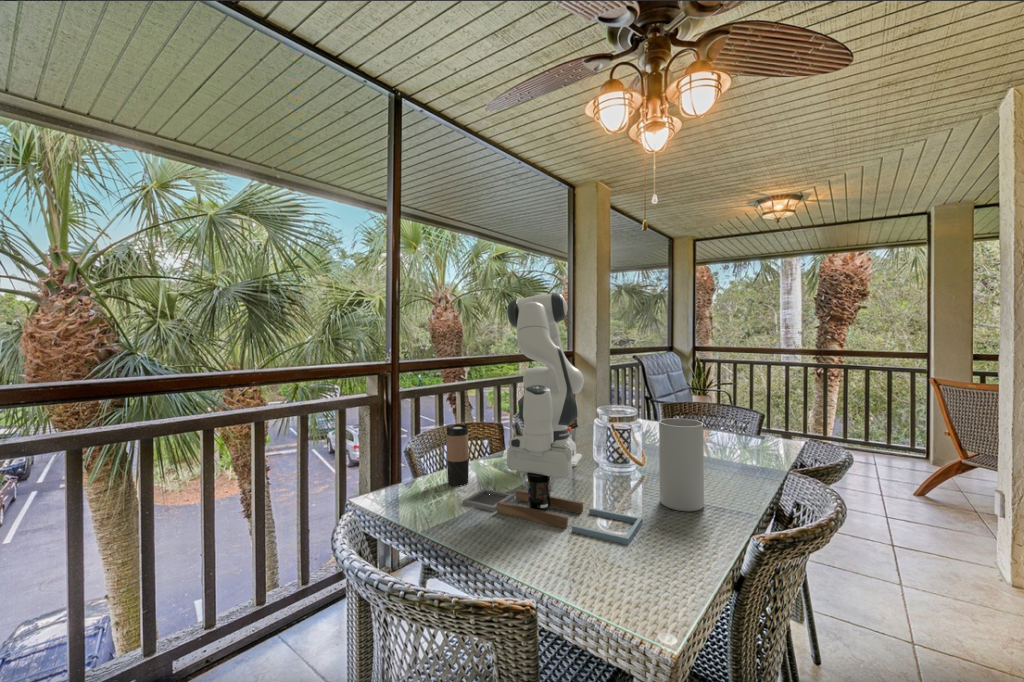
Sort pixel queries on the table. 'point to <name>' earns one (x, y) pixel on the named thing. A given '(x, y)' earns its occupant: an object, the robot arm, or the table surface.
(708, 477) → the table surface
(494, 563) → the table surface
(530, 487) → the supplement container
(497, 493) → the tray
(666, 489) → the cylinder vase
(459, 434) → the travel mug
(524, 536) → the table surface
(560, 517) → the channel
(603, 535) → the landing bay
